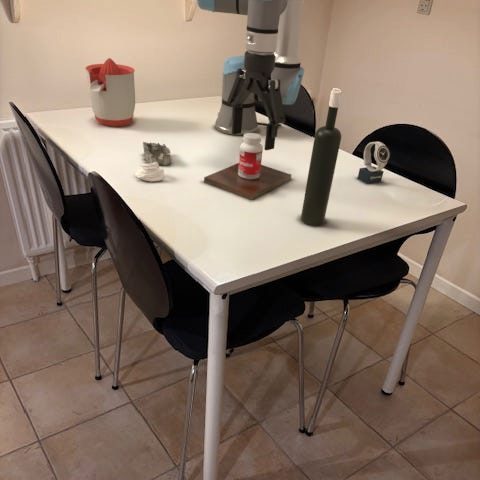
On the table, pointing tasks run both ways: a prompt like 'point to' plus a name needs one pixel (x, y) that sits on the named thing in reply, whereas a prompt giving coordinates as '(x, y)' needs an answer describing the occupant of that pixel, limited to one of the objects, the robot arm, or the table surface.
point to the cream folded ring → (150, 172)
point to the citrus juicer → (112, 93)
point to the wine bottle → (322, 166)
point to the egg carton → (156, 153)
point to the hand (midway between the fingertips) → (252, 141)
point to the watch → (370, 172)
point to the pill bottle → (250, 156)
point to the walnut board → (247, 181)
